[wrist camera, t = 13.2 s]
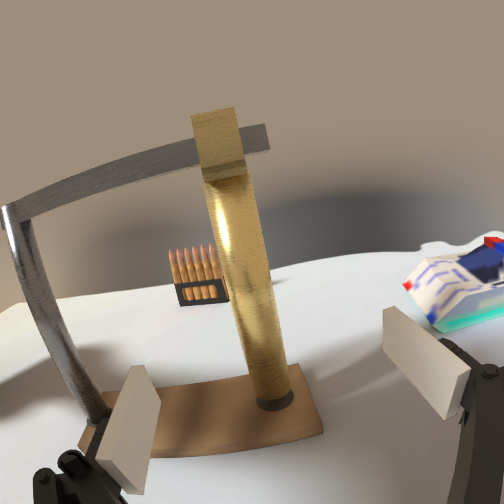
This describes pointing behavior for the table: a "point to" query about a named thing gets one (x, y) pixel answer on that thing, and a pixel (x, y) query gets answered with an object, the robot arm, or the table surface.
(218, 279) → the ammunition clip
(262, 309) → the brass leg
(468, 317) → the toy car
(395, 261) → the table surface
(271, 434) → the walnut board
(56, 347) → the steel frame
